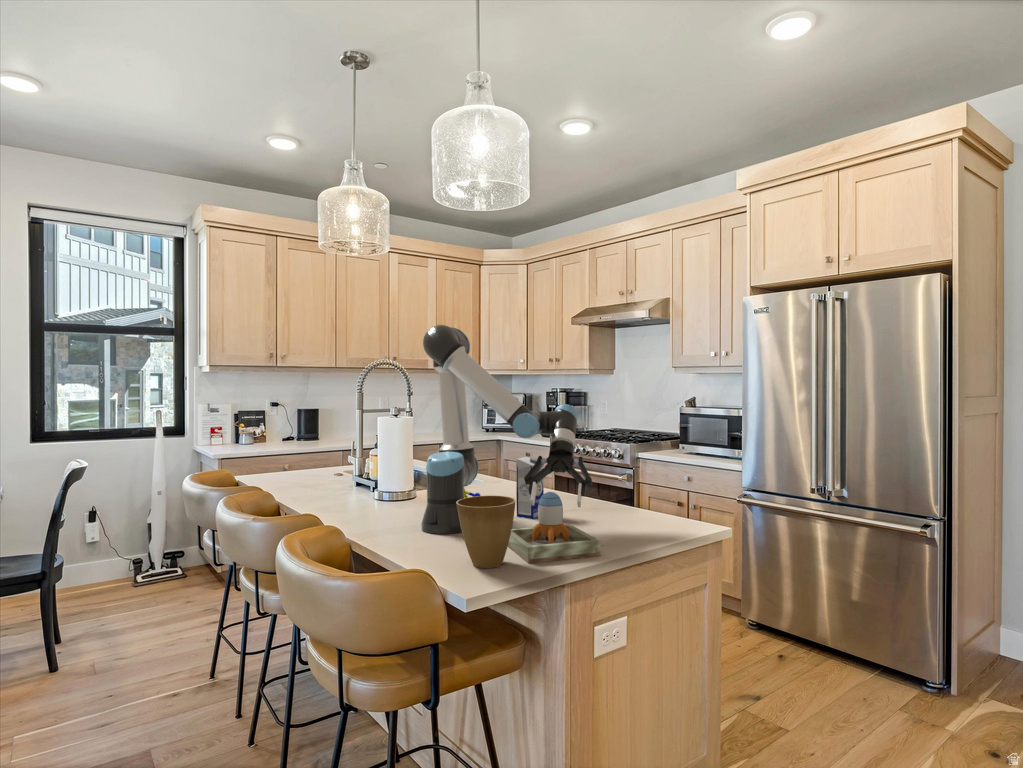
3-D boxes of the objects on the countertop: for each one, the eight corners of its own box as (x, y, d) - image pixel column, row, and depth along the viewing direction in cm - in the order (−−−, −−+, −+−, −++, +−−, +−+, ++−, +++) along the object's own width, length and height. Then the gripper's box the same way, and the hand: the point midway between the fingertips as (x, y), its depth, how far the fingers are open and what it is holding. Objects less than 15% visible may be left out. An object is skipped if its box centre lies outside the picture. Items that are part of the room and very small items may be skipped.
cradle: (528, 563, 152) (527, 547, 152) (504, 543, 171) (504, 529, 171) (600, 555, 158) (600, 540, 158) (569, 537, 177) (569, 524, 177)
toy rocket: (567, 542, 171) (575, 492, 168) (567, 559, 160) (575, 506, 157) (531, 536, 171) (538, 486, 169) (529, 553, 161) (536, 500, 158)
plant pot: (489, 552, 162) (488, 492, 162) (528, 564, 151) (527, 500, 151) (444, 564, 152) (444, 500, 152) (483, 577, 141) (482, 508, 141)
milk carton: (527, 513, 212) (527, 456, 212) (544, 515, 208) (543, 457, 208) (516, 516, 206) (515, 458, 206) (532, 519, 202) (532, 459, 202)
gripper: (603, 454, 189) (599, 512, 174) (524, 453, 194) (515, 509, 180) (601, 439, 184) (598, 497, 169) (521, 438, 189) (511, 494, 175)
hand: (555, 503), depth 174 cm, fingers open, 13 cm apart
